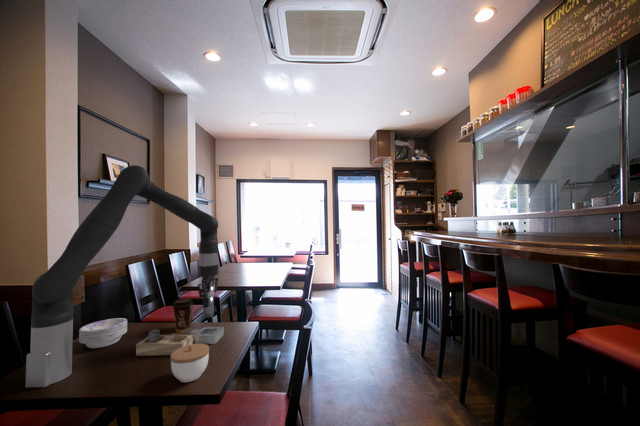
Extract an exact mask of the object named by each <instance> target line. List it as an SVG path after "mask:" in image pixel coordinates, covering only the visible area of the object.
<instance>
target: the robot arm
mask: <svg viewBox="0 0 640 426" xmlns="http://www.w3.org/2000/svg"><path fill="white" fill-rule="evenodd" d="M136 196H139V197H141V198H144V199H146V200H148V201H150V202H152V203H154V204H156V205H158V206H160V207H162V208H163V209H165V211H168V212H170V213H171V214H174V215H175V216H177V217H178V218H179V219H180V220H183V221H185V222H187V223H190V224H191V225H192V226H195V227H196V228H197V229H199V233H200V236H199V237H200V242H199V258H198V276H199V277H201V278H202V279H201V283H198V284H197V288H198V295H199V299H202V309H203V308H207V307H209V293H210V292H211V286H214V295H215V294H216V293H217V290H218V283H219V277H216V276H218V275H219V248H218V247H219V243H218V242H219V241H218V228H219V221H218V219H216V218H215V217H214V216H213V215H211V214H208V213H207V212H205V211H203V210H202V209H199V207H197V206H195V205H194V204H193V203H191V202H189V201H187V200H186V199H183V198H182V197H179V196H178V195H175V194H172V193H170V192H168V191H165V190H164V189H162V188H161V187H159V186H158V185H156V183H154V182H153V181H151V180H150V175H149V172H148V171H147V170H146V169H145V168H144V167H142V166H141V165H135V164H134V165H128V166H126V167H124V168H123V169H122V170H121V171H120V172H119V174H118V175H117V178H116V179H115V180H114V182H113V184H112V185H111V187H110V188H109V190H108V192H107V193H106V194H105V195H104V196H103V197H102V198H101V200H100V201H99V202H98V203H97V205H95V207H93V208H92V210H91V211H90V213H89V214H88V215H87V216H86V217H85V219H84V220H83V221H82V222H81V224H80V225H79V226H78V227H77V229H76V230H75V232H74V233H73V235H72V237H71V238H70V240H69V242H68V244H67V245H66V247H65V249H64V251H63V252H62V254H61V255H60V256H59V257H58V259H57V260H56V261H55V262H54V263H53V264H52V265H51V267H50V268H49V269H48V270H47V271H46V272H44V273H43V274H41V275H40V276H38V277H37V278H36V279H35V281H34V282H33V284H32V288H31V292H32V299H31V303H32V304H31V307H32V308H31V321H30V323H31V324H30V351H29V352H30V353H29V352H28V353H27V354H26V357H25V358H26V359H25V388H45V387H48V386H51V385H53V384H56V383H58V382H61V381H62V380H63V381H64V380H65V379H66V378H68V377H69V376H71V375H72V372H73V337H74V336H73V331H74V330H73V329H74V327H73V326H74V302H73V301H74V289H75V287H76V285H77V284H78V282H79V280H80V278H81V276H82V275H83V273H84V271H85V270H86V268H87V267H88V266H89V264H90V262H92V260H93V259H94V258H95V257H96V256H97V254H98V253H99V252H100V251H101V250H102V249H103V248H104V246H105V245H106V244H107V243H108V241H109V240H110V239H111V237H112V236H113V235H114V233H115V232H116V231H117V229H118V228H119V226H120V224H121V222H122V220H123V218H124V216H125V213H126V211H127V208H128V206H129V204H130V203H131V202H132V200H133V199H134V198H135V197H136ZM206 289H208V290H206Z"/></svg>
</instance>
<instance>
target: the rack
mask: <svg viewBox="0 0 640 426" xmlns="http://www.w3.org/2000/svg"><path fill="white" fill-rule="evenodd" d="M160 333H161V331H160V329H152V330H150V331H148V336H147V337H145V338H144V339H142V340H141V341H139V342H137V343H136V344H135V356H140V357H141V356H142V357H143V356H171V354H172V353H173V352H174V351H175V350H177V349H178V348H181V347H183V346H186V345H190V344H193V335H172V334H160Z"/></svg>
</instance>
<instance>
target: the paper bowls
mask: <svg viewBox="0 0 640 426" xmlns="http://www.w3.org/2000/svg"><path fill="white" fill-rule="evenodd" d="M78 332H79V334H78V342H79V343H80V344H85V346H86V347H87V348H88V349H100V348H104V347H108V346H112V345H114V344H116V343H117V342H119V341H120V339H121V338H122V336H123V335H125V334H126V333H127V332H128V319H127V318H123V317H116V318H108V319H103V320H98V321H94V322H92V323H91V322H90V323H88V324H86V325H83V326H82V327H80V328H79V330H78Z"/></svg>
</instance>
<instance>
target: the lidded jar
mask: <svg viewBox="0 0 640 426" xmlns="http://www.w3.org/2000/svg"><path fill="white" fill-rule="evenodd" d="M209 352H210V346H209V344H190V345H186V346H183V347H181V348H178V349H177V350H175V351H174V352H173V353H172V354H171V355H170V366H171V367H170V368H171V373H172V375H173V376H174V377H175V378H176V379H177V380H179V382H181V383H190V382H193V381H196V380H198V379H199V378H200V377H201V376H202V374H203V373H204V371H205V370H206V369H207V367H208V364H209V357H210V353H209Z"/></svg>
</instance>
